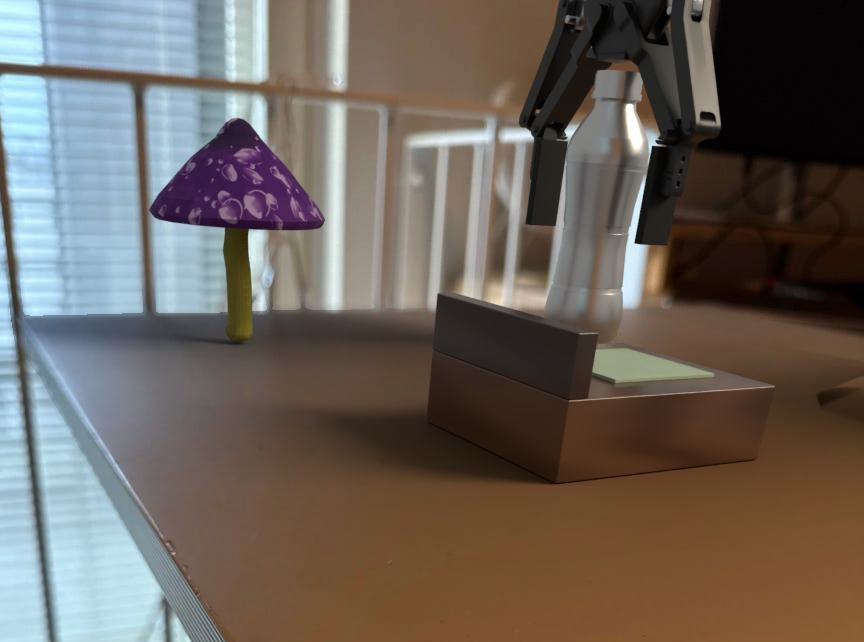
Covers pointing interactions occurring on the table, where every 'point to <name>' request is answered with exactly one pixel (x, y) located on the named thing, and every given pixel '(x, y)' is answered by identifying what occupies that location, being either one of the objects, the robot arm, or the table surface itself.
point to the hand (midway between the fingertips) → (592, 234)
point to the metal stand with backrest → (583, 397)
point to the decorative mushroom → (237, 205)
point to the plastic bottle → (600, 207)
